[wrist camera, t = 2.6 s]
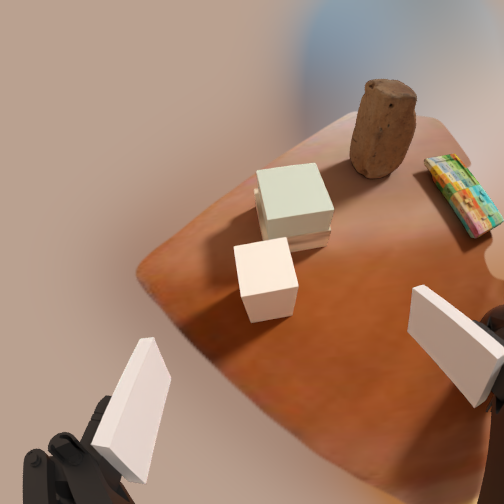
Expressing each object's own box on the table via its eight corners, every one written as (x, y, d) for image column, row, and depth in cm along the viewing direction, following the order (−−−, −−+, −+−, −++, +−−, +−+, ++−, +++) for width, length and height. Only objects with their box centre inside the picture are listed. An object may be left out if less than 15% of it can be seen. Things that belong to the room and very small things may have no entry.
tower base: (326, 246, 43) (331, 230, 39) (265, 257, 43) (264, 241, 39) (310, 199, 48) (313, 180, 44) (255, 207, 48) (253, 189, 44)
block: (359, 183, 49) (384, 96, 31) (344, 157, 52) (359, 74, 35) (402, 176, 49) (433, 99, 32) (385, 152, 53) (407, 77, 35)
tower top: (328, 229, 39) (334, 209, 35) (268, 239, 39) (267, 220, 35) (312, 184, 43) (315, 162, 39) (258, 192, 43) (256, 170, 39)
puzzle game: (481, 232, 37) (426, 155, 46) (469, 244, 41) (419, 170, 50) (505, 218, 38) (456, 150, 47) (495, 230, 42) (449, 164, 51)
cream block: (292, 315, 38) (298, 286, 28) (251, 322, 38) (241, 296, 28) (283, 277, 41) (286, 236, 31) (244, 284, 41) (233, 246, 31)
